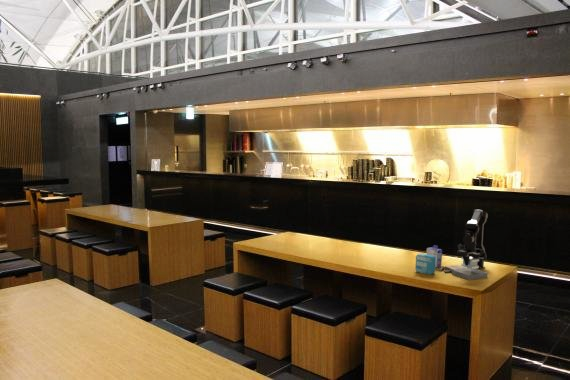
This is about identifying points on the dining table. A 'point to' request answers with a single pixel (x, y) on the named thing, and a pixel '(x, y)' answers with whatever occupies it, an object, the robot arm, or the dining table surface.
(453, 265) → the stand
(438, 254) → the ink cartridge box
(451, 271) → the bolt
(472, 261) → the block
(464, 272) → the stand
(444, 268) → the bolt
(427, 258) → the data package
